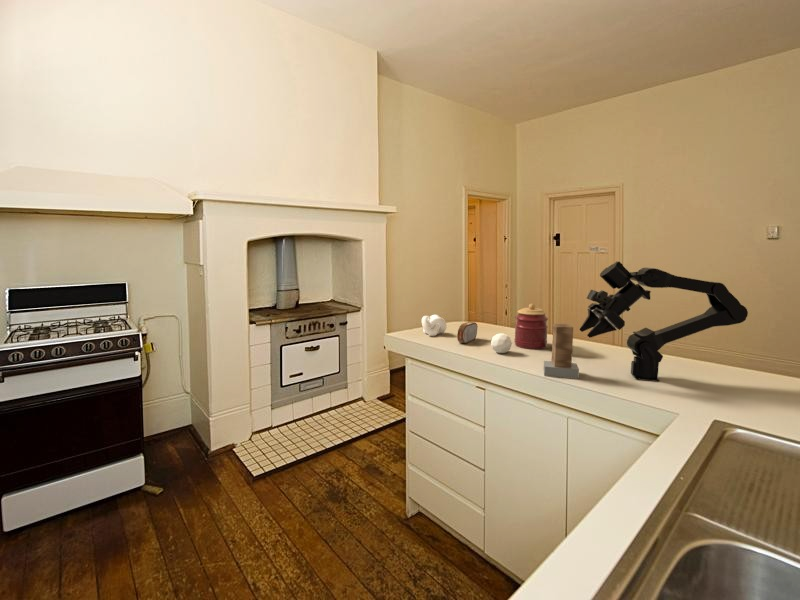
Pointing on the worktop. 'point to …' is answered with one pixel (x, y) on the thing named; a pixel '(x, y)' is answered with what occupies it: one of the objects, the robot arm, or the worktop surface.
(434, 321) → the white lumpy piece
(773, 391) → the worktop surface
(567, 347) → the walnut block
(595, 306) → the robot arm
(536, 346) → the canister
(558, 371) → the grey base plate
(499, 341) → the ball
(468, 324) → the tin
